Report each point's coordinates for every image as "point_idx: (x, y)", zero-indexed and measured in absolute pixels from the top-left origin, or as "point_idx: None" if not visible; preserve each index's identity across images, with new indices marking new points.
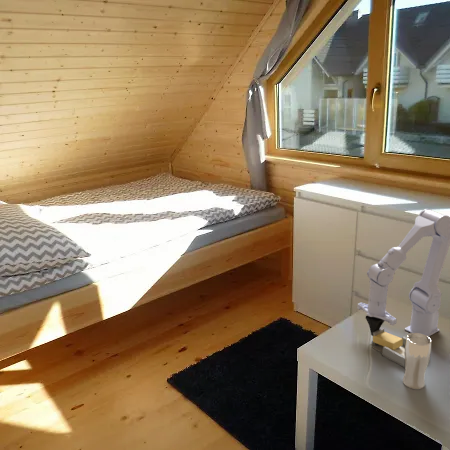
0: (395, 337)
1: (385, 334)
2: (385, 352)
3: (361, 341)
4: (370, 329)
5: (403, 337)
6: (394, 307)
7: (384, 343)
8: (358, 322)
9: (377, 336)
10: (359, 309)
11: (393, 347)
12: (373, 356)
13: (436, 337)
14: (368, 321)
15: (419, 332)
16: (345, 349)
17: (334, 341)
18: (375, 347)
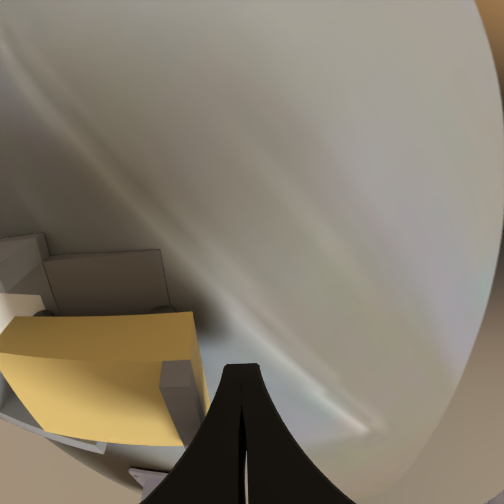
0: (71, 426)
1: (142, 426)
2: (3, 249)
3: (289, 251)
4: (264, 407)
5: (92, 446)
6: (346, 494)
7: (63, 335)
8: (425, 385)
9: (142, 371)
10: (492, 500)
11: (5, 331)
12: (56, 158)
13: (128, 480)
14: (306, 496)
15: (155, 485)
16: (282, 14)
17: (428, 59)
18: (140, 275)
